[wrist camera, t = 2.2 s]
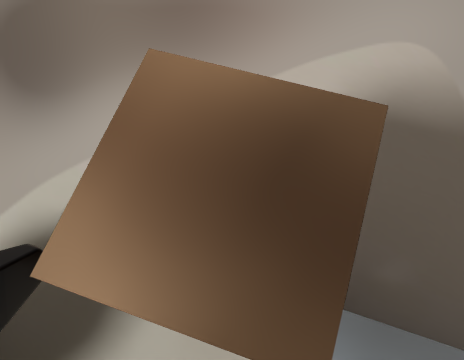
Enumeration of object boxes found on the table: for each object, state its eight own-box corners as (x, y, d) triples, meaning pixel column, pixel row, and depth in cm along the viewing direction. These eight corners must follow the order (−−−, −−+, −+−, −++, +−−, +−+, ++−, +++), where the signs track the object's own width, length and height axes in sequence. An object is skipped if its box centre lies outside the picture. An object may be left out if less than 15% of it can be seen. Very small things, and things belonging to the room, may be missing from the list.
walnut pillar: (277, 354, 17) (325, 387, 6) (177, 317, 18) (30, 275, 6) (305, 251, 19) (388, 105, 7) (212, 221, 20) (149, 48, 8)
